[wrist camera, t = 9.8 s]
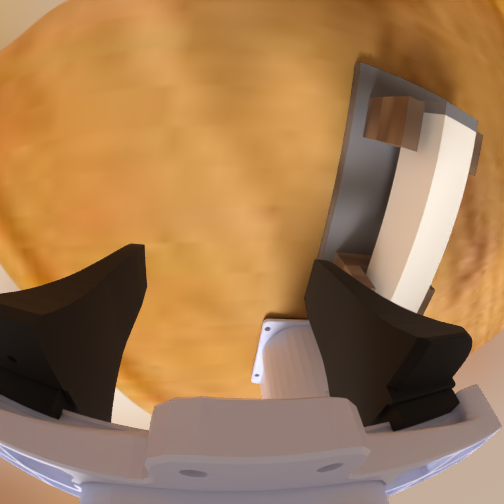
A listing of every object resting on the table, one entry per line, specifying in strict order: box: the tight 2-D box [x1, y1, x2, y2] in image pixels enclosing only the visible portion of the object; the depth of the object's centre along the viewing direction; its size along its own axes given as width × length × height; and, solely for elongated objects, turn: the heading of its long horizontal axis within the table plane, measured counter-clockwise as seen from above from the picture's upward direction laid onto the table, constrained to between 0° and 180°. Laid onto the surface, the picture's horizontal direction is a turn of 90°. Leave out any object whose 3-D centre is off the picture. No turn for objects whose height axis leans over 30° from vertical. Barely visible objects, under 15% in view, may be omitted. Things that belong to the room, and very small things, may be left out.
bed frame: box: [317, 62, 483, 315], centre depth 18 cm, size 20×9×6 cm, turn 172°
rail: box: [366, 101, 478, 313], centre depth 16 cm, size 16×3×4 cm, turn 172°
